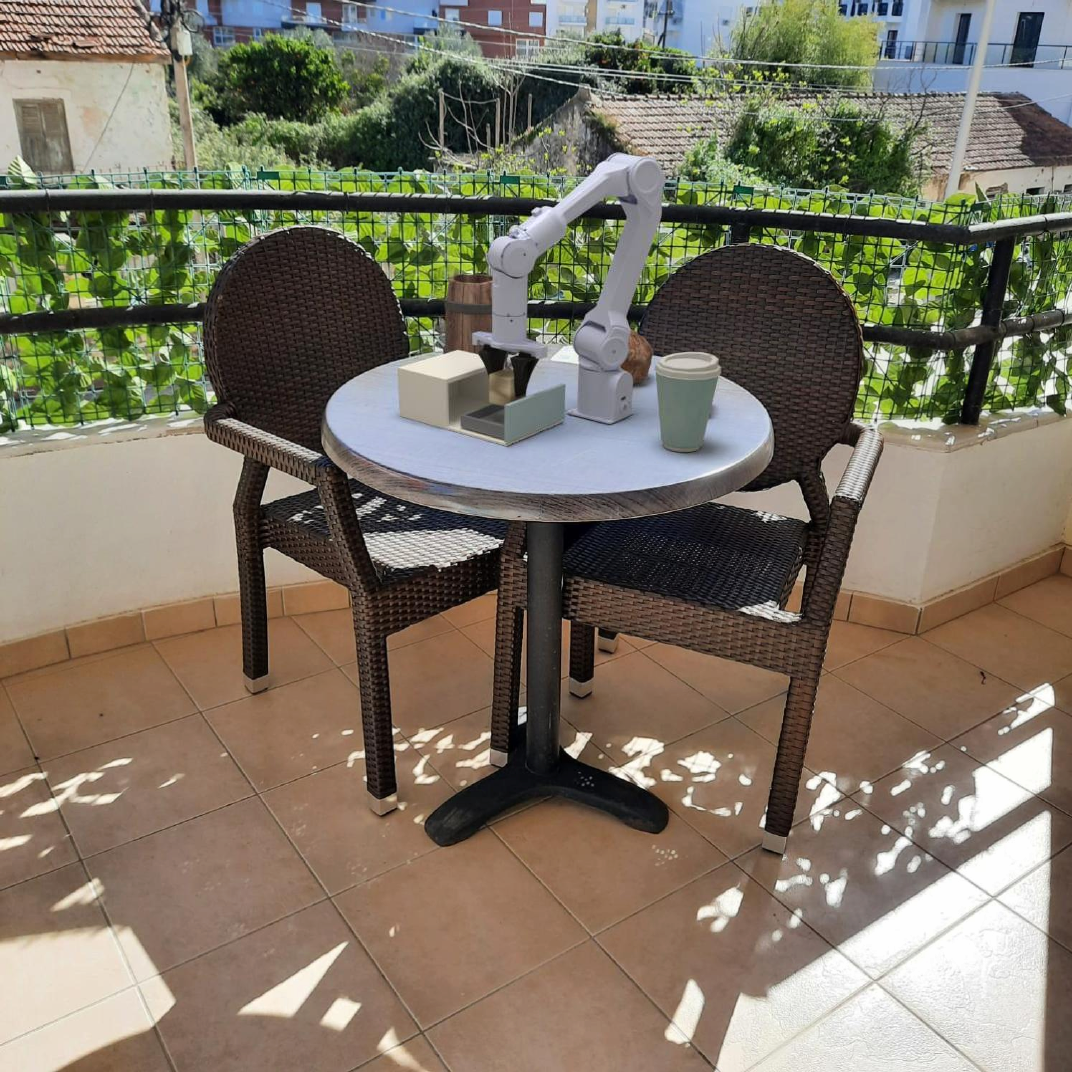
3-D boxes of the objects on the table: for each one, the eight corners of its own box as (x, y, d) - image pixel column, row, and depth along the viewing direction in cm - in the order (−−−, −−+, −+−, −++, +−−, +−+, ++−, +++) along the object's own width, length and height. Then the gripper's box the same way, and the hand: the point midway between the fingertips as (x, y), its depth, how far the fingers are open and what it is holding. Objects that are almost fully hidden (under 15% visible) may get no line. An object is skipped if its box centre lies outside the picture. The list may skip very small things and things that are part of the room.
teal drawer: (564, 418, 170) (565, 384, 167) (508, 442, 158) (508, 405, 156) (514, 406, 176) (514, 372, 173) (456, 428, 164) (456, 392, 162)
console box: (562, 422, 171) (563, 373, 167) (506, 446, 159) (506, 394, 155) (458, 395, 183) (457, 349, 180) (399, 416, 172) (397, 367, 168)
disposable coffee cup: (669, 460, 155) (677, 369, 148) (636, 438, 164) (642, 351, 157) (725, 452, 159) (735, 363, 152) (690, 431, 167) (698, 346, 161)
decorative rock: (598, 369, 202) (601, 321, 198) (652, 372, 201) (656, 324, 197) (592, 387, 191) (594, 336, 186) (649, 390, 189) (653, 340, 185)
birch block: (526, 401, 166) (526, 373, 164) (510, 407, 163) (510, 379, 161) (505, 396, 169) (505, 368, 166) (489, 402, 165) (489, 374, 163)
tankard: (486, 396, 183) (486, 290, 175) (416, 381, 191) (413, 279, 183) (550, 369, 201) (553, 271, 193) (484, 356, 209) (484, 262, 201)
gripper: (460, 310, 160) (461, 389, 166) (530, 324, 153) (528, 406, 158) (487, 303, 165) (487, 380, 171) (556, 316, 158) (553, 396, 164)
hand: (508, 392), depth 165 cm, fingers closed on birch block, 4 cm apart
